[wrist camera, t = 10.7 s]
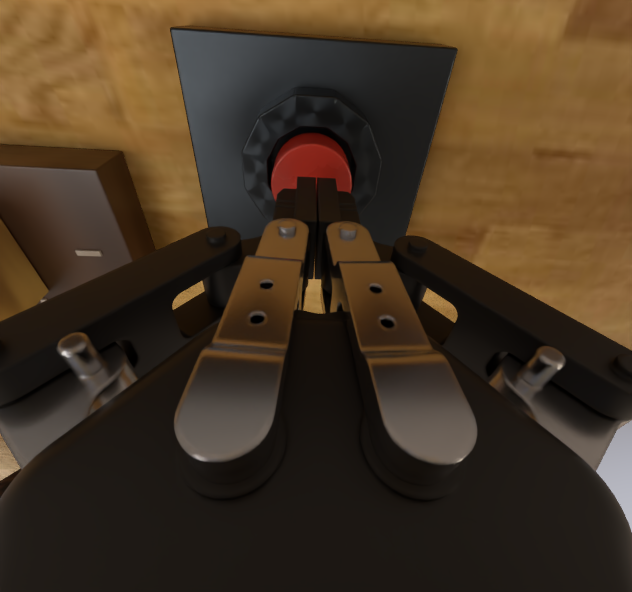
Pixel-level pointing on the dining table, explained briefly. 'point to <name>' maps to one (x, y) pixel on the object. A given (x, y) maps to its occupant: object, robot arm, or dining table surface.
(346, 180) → the release button
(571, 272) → the dining table surface
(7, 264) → the handle
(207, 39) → the button box
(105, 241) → the dark brown flat block
